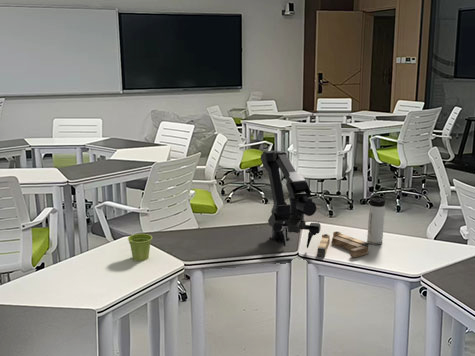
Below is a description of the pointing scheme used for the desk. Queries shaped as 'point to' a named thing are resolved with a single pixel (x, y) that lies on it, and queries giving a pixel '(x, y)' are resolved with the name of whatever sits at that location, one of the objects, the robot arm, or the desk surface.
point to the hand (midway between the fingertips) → (296, 246)
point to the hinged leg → (323, 245)
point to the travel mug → (376, 220)
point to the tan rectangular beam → (350, 244)
